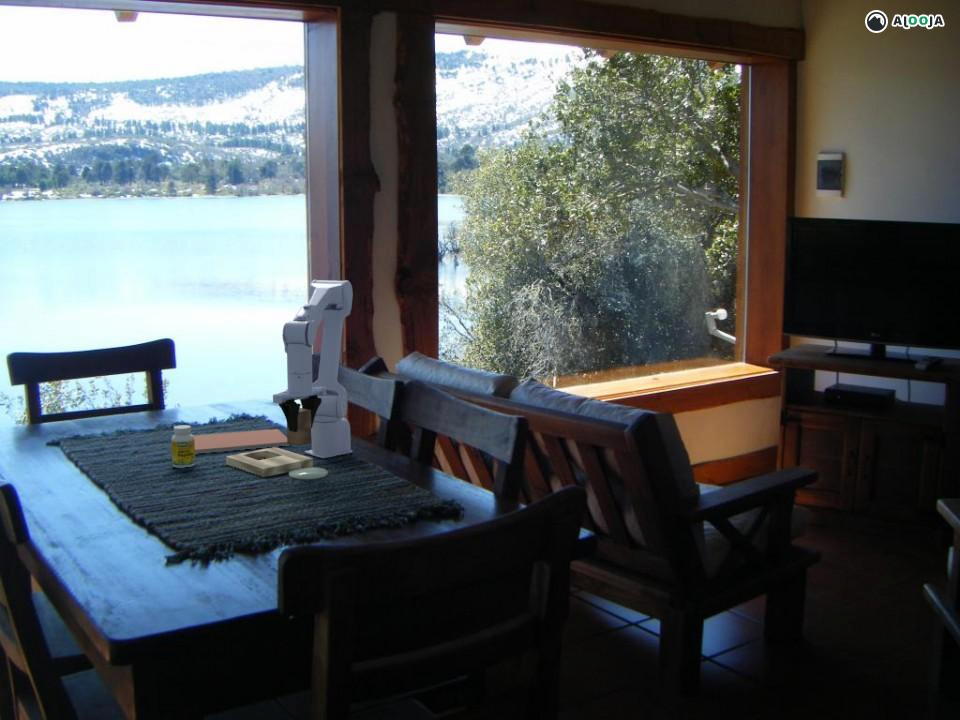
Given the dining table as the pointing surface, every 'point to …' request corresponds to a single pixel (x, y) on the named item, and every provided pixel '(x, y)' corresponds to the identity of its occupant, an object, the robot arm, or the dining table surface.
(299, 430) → the walnut block
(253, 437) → the notebook
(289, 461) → the board
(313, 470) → the coaster
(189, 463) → the supplement bottle
